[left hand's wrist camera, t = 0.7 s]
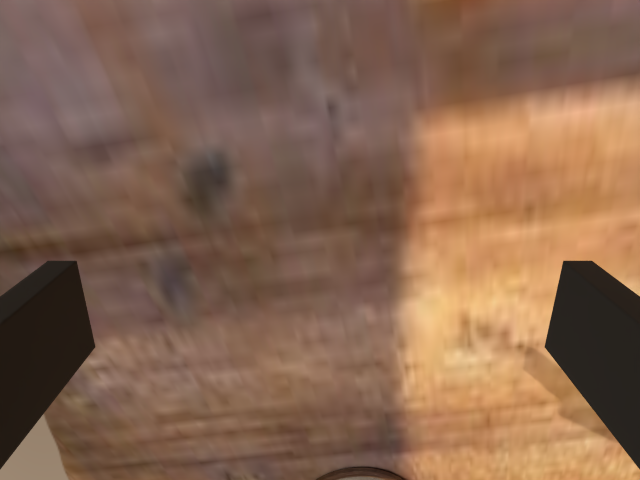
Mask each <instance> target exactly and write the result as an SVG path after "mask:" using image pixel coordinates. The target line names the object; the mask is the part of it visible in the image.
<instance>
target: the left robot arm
mask: <svg viewBox="0 0 640 480" xmlns="http://www.w3.org/2000/svg"><path fill="white" fill-rule="evenodd" d="M94 348H95V343H94V339H93V334H92V330H91V325H90V320H89V316H88V311H87V307H86V302H85V297H84V293H83V288H82V284H81V279H80V275H79V270H78V265H77V261H47V262H46V263H45V264H43V265H42V266H41V267H39V268H38V269H37V270H35V271H34V272H33V273H31V274H30V275H29V276H27V277H26V278H25V279H23V280H22V281H21V282H19V283H18V284H17V285H15V286H14V287H13V288H11V289H10V290H9V291H7V292H6V293H5V294H3V295H2V296H0V469H1V468H2V466H3V465H4V464H5V462H6V461H7V460H8V459H9V457H10V456H11V455H12V454H13V452H14V451H15V450H16V448H17V447H18V446H19V445H20V443H21V442H22V441H23V439H24V438H25V437H26V435H27V434H28V433H29V432H30V430H31V429H32V428H33V426H34V425H35V424H36V423H37V421H38V420H39V419H40V417H41V416H42V415H43V414H44V412H45V411H46V410H47V408H48V407H49V406H50V405H51V403H52V402H53V401H54V399H55V398H56V397H57V396H58V394H59V393H60V392H61V390H62V389H63V388H64V387H65V385H66V384H67V383H68V381H69V380H70V379H71V378H72V376H73V375H74V374H75V372H76V371H77V370H78V369H79V367H80V366H81V365H82V363H83V362H84V361H85V360H86V358H87V357H88V356H89V354H90V353H91V352H92V351H93V349H94ZM545 348H546V349H547V351H548V352H549V353H550V354H551V356H552V357H553V358H554V360H555V361H556V362H557V363H558V365H559V366H560V367H561V369H562V370H563V371H564V372H565V374H566V375H567V376H568V378H569V379H570V380H571V381H572V383H573V384H574V385H575V387H576V388H577V389H578V390H579V392H580V393H581V394H582V396H583V397H584V398H585V399H586V401H587V402H588V403H589V405H590V406H591V407H592V408H593V410H594V411H595V412H596V414H597V415H598V416H599V417H600V419H601V420H602V421H603V423H604V424H605V425H606V426H607V428H608V429H609V430H610V432H611V433H612V434H613V435H614V437H615V438H616V439H617V441H618V442H619V443H620V445H621V446H622V447H623V448H624V450H625V451H626V452H627V454H628V455H629V456H630V457H631V459H632V460H633V461H634V463H635V464H636V465H637V466H638V468H639V469H640V296H638V295H637V294H635V293H634V292H633V291H631V290H630V289H629V288H627V287H626V286H625V285H623V284H622V283H621V282H619V281H618V280H617V279H615V278H614V277H613V276H611V275H610V274H609V273H607V272H606V271H605V270H603V269H602V268H601V267H599V266H598V265H597V264H595V263H594V262H593V261H563V265H562V270H561V275H560V279H559V284H558V288H557V293H556V297H555V302H554V307H553V311H552V316H551V320H550V325H549V330H548V334H547V339H546V343H545ZM317 480H403V479H402V478H400V477H398V476H397V475H394V474H392V473H390V472H387V471H383V470H380V469H374V468H363V467H358V468H346V469H341V470H337V471H334V472H331V473H328V474H326V475H324V476H322V477H320V478H318V479H317Z"/></svg>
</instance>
